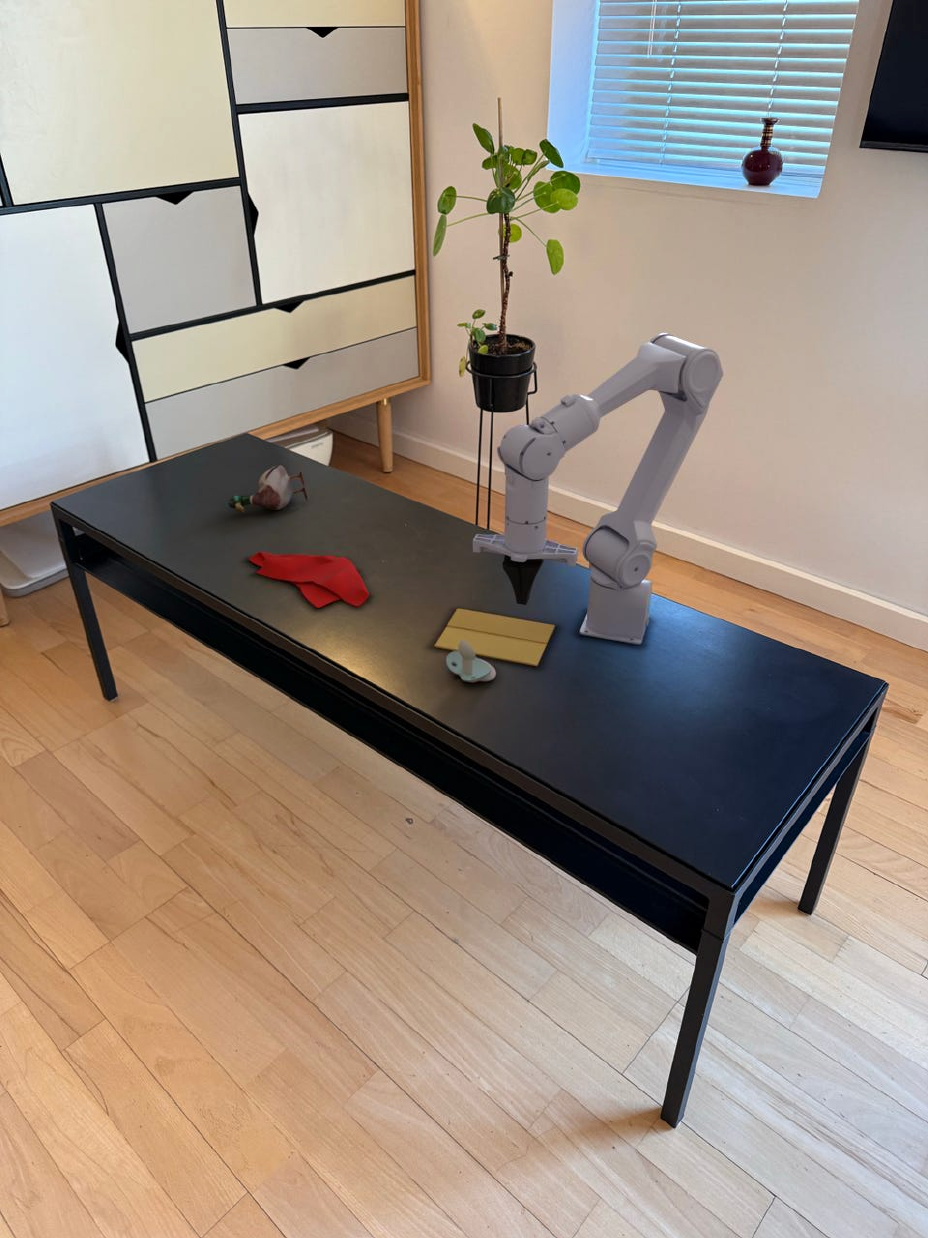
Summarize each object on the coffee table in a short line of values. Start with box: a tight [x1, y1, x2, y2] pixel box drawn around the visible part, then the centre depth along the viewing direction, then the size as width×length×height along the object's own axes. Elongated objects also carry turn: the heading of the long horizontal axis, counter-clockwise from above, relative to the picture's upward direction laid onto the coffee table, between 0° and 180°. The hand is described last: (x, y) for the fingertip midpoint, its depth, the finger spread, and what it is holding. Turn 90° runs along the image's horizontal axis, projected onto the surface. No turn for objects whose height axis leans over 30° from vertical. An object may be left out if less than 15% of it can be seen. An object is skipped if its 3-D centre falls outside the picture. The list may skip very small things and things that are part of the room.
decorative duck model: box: [227, 464, 309, 513], centre depth 175 cm, size 15×8×15 cm
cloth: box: [248, 551, 370, 609], centre depth 152 cm, size 26×14×2 cm, turn 45°
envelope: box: [433, 608, 556, 667], centre depth 136 cm, size 16×11×1 cm
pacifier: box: [445, 640, 497, 683], centre depth 126 cm, size 7×6×6 cm
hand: (522, 601), depth 127 cm, fingers closed
